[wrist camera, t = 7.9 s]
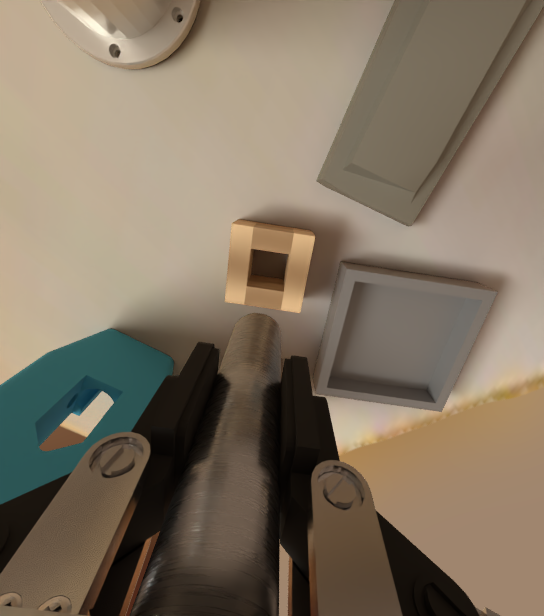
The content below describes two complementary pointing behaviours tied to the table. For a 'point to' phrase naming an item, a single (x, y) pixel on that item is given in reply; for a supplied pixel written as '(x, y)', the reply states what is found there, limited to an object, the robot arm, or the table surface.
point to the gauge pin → (226, 494)
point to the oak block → (262, 288)
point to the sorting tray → (398, 336)
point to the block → (72, 404)
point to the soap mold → (421, 98)
